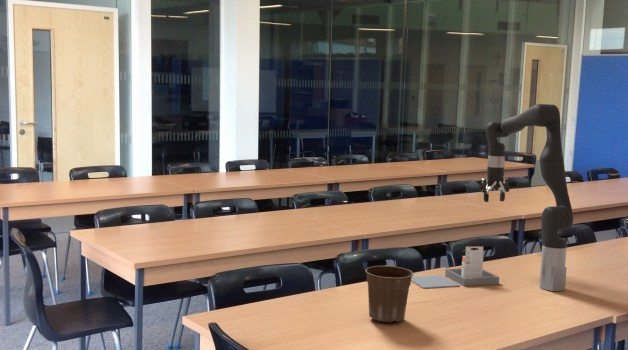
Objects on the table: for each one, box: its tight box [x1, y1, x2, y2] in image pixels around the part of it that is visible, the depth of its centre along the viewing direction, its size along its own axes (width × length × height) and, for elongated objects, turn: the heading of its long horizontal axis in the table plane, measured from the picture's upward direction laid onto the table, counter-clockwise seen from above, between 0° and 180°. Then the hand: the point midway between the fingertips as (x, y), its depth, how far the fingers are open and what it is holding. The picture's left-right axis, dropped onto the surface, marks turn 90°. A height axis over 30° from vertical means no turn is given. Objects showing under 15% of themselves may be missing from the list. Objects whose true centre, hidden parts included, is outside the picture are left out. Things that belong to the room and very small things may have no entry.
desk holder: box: [444, 267, 500, 287], centre depth 294 cm, size 16×16×3 cm
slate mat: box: [411, 274, 460, 290], centre depth 289 cm, size 16×16×1 cm
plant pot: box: [365, 265, 414, 323], centre depth 241 cm, size 16×16×16 cm
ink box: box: [461, 245, 484, 278], centre depth 293 cm, size 4×8×15 cm, turn 96°
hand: (494, 201), depth 321 cm, fingers open, 8 cm apart
